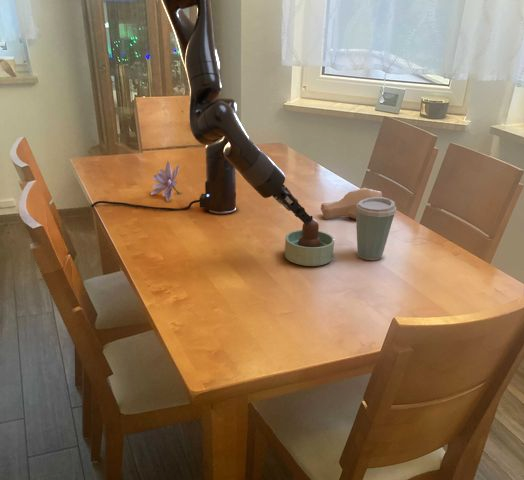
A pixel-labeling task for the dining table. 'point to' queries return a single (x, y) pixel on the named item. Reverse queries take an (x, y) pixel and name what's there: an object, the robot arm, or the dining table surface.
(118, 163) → the dining table surface
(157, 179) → the water lily
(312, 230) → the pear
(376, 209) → the disposable coffee cup
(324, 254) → the bowl
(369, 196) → the squash
